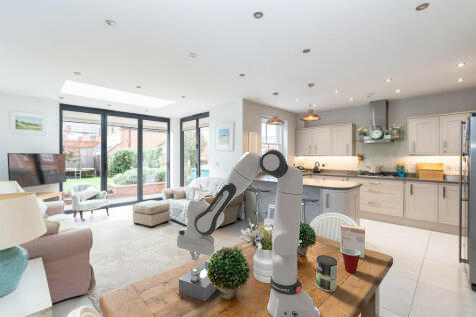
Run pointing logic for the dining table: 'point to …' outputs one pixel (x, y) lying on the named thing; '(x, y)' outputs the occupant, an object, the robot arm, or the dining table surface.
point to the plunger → (195, 275)
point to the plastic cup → (350, 259)
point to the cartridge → (205, 270)
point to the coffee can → (326, 273)
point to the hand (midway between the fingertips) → (195, 259)
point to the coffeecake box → (353, 238)
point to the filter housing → (196, 286)
